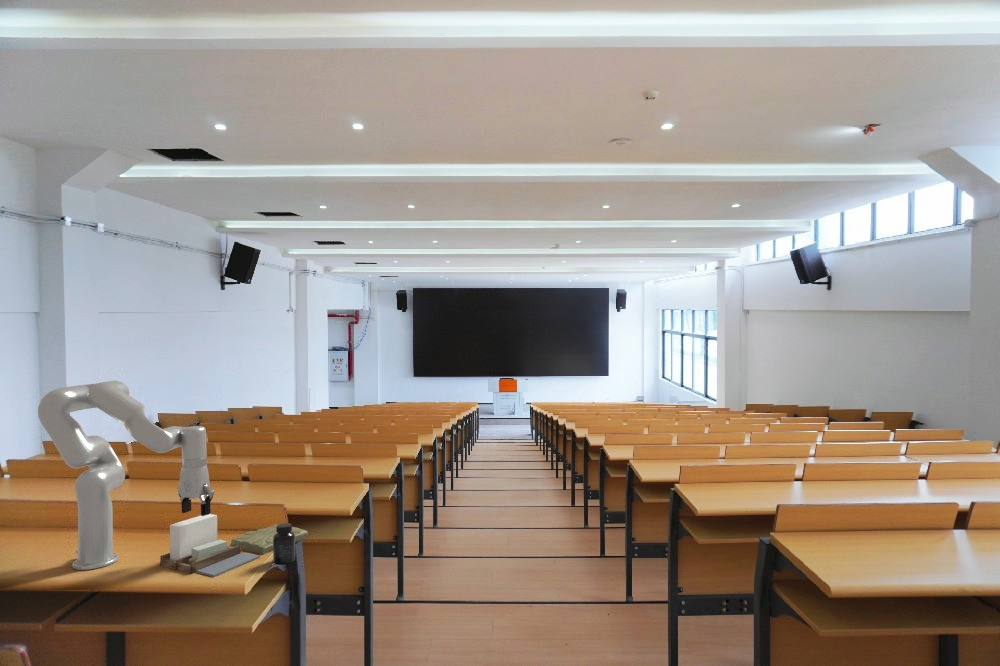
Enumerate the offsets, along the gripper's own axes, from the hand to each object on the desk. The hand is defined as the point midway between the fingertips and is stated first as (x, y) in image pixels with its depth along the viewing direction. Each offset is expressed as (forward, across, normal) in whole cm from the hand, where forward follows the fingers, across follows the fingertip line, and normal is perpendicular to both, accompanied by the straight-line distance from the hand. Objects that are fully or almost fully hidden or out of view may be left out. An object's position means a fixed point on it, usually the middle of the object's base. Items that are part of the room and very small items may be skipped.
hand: (196, 513), depth 199 cm
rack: (+15, +3, -1) cm, 15 cm away
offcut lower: (+16, +6, -1) cm, 17 cm away
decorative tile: (+16, +9, +22) cm, 29 cm away
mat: (+16, +15, 0) cm, 22 cm away
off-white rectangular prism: (+15, -1, -1) cm, 15 cm away
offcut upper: (+13, +7, 0) cm, 14 cm away
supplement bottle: (+16, +29, +10) cm, 35 cm away
